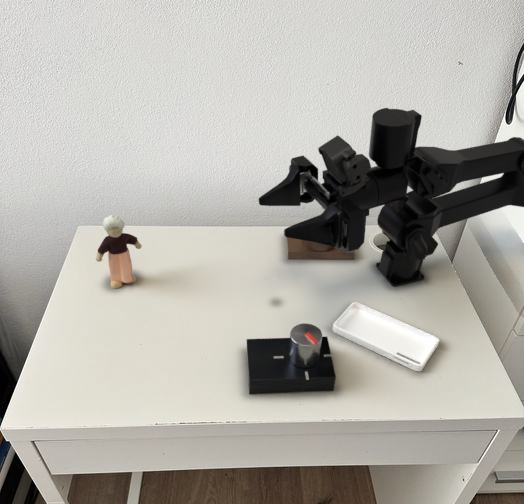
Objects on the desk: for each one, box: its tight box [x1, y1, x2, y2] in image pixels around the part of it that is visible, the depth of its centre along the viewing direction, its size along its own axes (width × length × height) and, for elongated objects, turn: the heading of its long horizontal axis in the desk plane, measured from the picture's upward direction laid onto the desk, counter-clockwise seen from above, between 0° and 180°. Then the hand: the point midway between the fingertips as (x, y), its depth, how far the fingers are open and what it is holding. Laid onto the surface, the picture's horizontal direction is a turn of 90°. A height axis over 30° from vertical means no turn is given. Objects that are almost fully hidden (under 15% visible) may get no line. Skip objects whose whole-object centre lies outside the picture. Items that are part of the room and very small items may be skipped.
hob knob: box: [288, 322, 323, 368], centre depth 75 cm, size 4×4×5 cm
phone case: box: [332, 301, 440, 372], centre depth 83 cm, size 7×1×15 cm
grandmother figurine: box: [95, 214, 143, 289], centre depth 88 cm, size 8×4×13 cm, turn 131°
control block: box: [285, 237, 355, 261], centre depth 98 cm, size 12×7×4 cm, turn 91°
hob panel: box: [246, 336, 337, 395], centre depth 77 cm, size 12×9×3 cm
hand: (271, 216), depth 76 cm, fingers open, 9 cm apart
